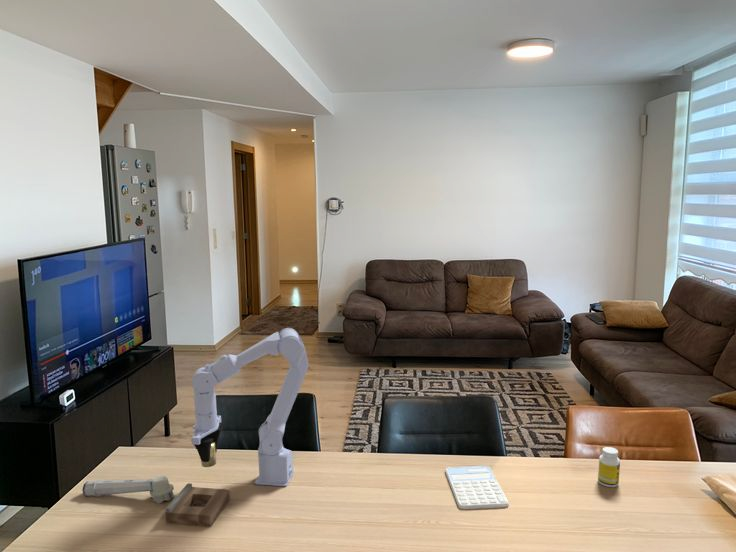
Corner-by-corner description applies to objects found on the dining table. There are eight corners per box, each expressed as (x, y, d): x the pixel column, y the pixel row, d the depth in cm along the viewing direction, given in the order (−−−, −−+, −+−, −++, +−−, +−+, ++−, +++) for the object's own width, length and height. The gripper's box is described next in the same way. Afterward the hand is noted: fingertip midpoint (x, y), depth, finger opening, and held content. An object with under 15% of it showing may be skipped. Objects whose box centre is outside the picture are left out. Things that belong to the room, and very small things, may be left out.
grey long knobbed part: (91, 476, 155) (173, 469, 151) (96, 498, 156) (178, 491, 152) (79, 486, 150) (164, 479, 146) (84, 509, 151) (169, 502, 147)
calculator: (459, 511, 143) (459, 504, 143) (444, 472, 163) (444, 466, 162) (510, 509, 144) (510, 502, 143) (489, 470, 163) (489, 464, 163)
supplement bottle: (619, 489, 151) (621, 456, 150) (598, 486, 153) (600, 453, 151) (617, 479, 156) (619, 447, 155) (597, 476, 158) (598, 444, 156)
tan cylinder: (218, 460, 156) (217, 440, 155) (212, 467, 152) (211, 447, 151) (205, 459, 157) (203, 440, 156) (199, 466, 153) (197, 446, 152)
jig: (229, 499, 149) (228, 486, 148) (211, 526, 137) (209, 511, 137) (188, 496, 151) (187, 483, 150) (165, 523, 139) (164, 508, 138)
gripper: (203, 400, 160) (206, 444, 162) (179, 421, 146) (183, 469, 148) (226, 401, 159) (229, 445, 161) (204, 422, 145) (208, 470, 147)
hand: (208, 457), depth 154 cm, fingers closed on tan cylinder, 4 cm apart
